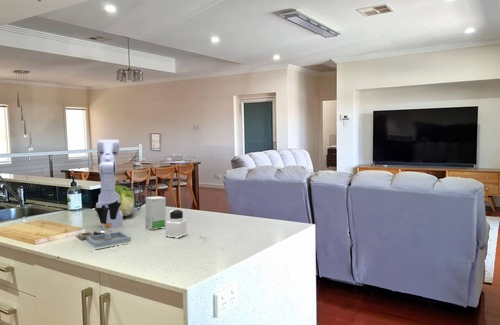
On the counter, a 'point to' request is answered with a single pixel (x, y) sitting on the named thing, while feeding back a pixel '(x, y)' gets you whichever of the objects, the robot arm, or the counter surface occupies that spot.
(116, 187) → the lettuce
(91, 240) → the tray
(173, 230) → the medicine bottle
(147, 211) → the skincare box
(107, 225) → the lock pin
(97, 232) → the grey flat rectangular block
